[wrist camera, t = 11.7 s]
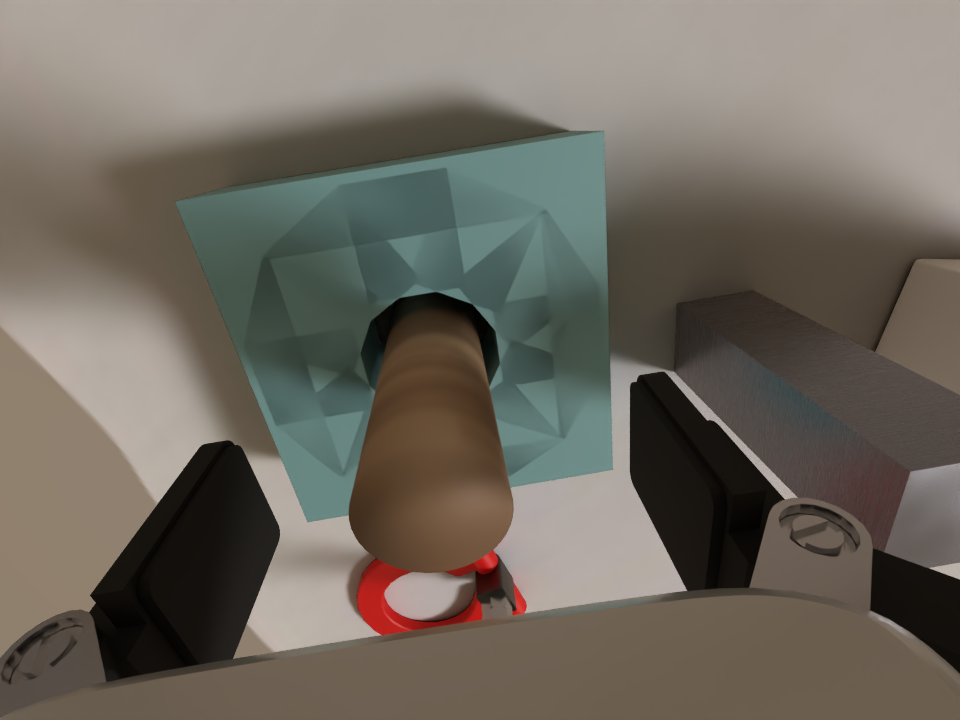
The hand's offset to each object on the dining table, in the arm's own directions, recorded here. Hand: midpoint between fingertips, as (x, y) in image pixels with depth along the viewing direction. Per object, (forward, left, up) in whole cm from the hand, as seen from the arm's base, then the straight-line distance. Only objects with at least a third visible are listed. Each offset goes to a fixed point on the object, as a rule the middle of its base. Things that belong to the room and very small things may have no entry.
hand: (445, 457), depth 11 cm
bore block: (0, -1, -11) cm, 11 cm away
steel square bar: (+3, +13, -11) cm, 17 cm away
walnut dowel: (+1, 0, -11) cm, 11 cm away
